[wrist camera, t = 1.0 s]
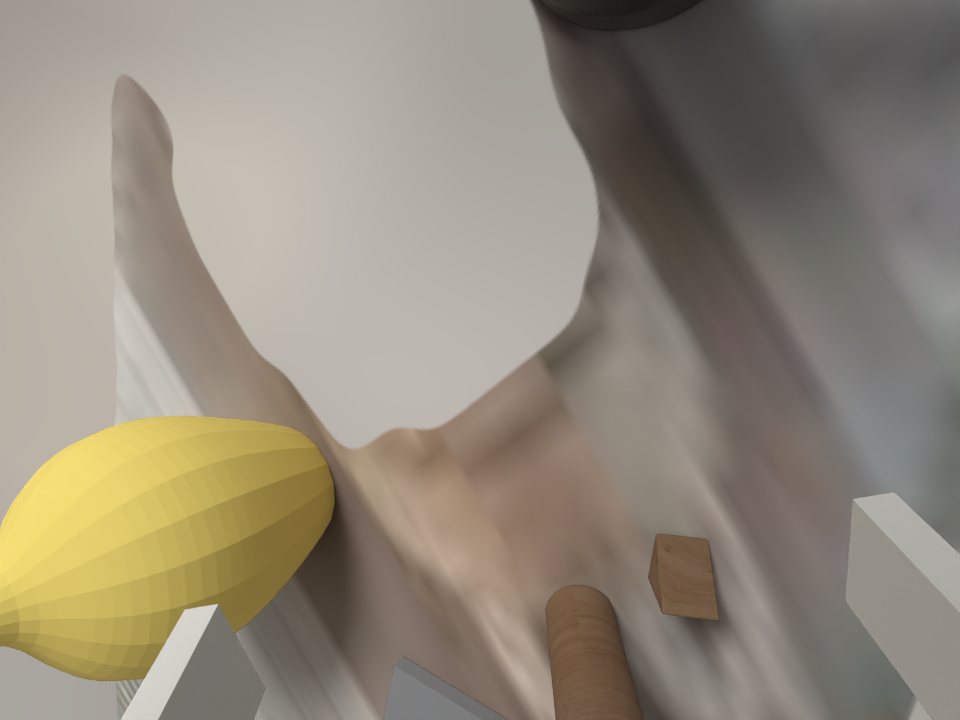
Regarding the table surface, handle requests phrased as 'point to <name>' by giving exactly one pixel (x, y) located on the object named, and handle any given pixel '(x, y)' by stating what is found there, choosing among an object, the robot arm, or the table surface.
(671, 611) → the wooden block set
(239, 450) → the vase
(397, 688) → the board
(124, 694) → the table surface
